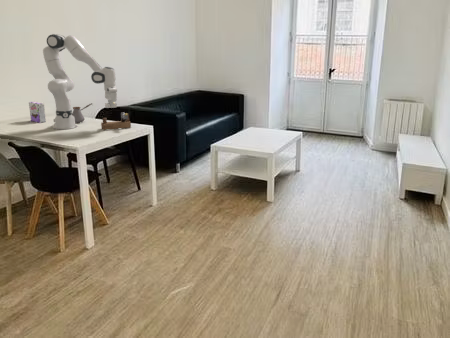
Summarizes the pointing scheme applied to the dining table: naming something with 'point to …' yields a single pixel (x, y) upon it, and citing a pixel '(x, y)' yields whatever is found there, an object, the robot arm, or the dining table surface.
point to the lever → (123, 116)
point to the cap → (110, 106)
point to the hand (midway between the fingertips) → (110, 105)
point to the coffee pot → (78, 114)
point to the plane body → (115, 124)
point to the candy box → (37, 112)
